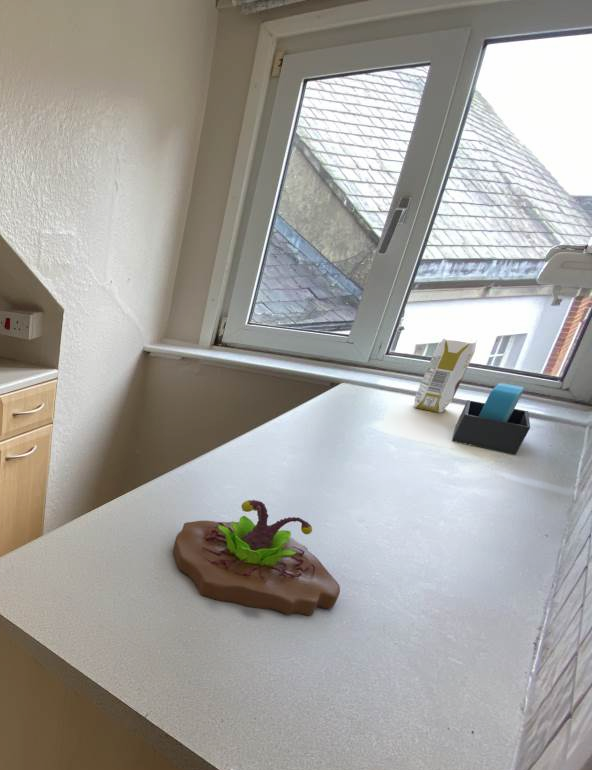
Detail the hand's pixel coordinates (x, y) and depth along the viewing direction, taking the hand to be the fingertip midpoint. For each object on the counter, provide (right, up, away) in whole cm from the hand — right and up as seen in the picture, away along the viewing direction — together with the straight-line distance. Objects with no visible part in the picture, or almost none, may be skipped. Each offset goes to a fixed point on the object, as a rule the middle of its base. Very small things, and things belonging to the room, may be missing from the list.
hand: (581, 308), depth 131 cm
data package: (-23, -31, 0) cm, 39 cm away
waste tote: (-23, -31, 0) cm, 39 cm away
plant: (-109, -54, -53) cm, 133 cm away
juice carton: (-18, -21, +22) cm, 35 cm away
